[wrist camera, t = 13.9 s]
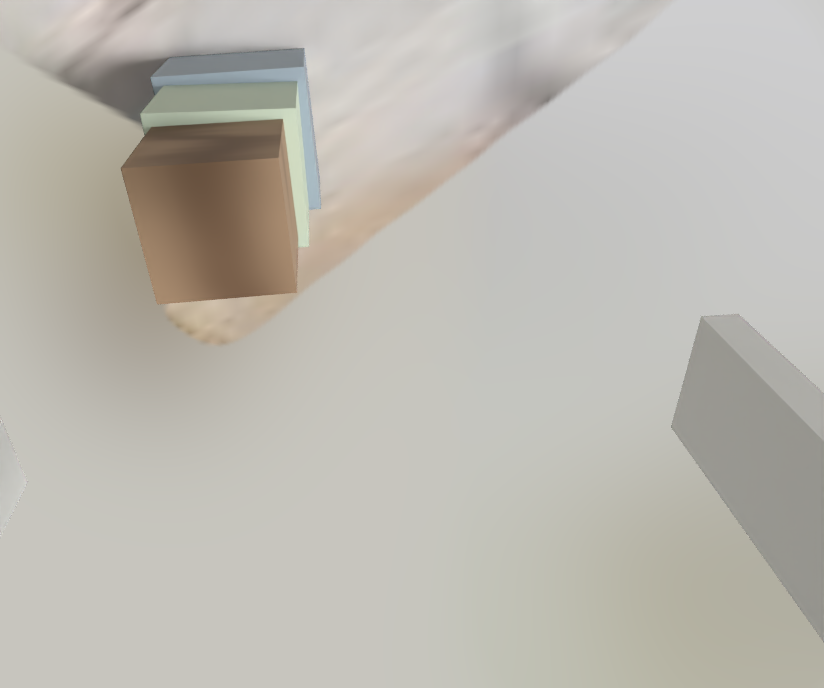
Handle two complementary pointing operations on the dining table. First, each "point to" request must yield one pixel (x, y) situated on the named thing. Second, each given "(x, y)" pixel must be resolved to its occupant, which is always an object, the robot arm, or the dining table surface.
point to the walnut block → (215, 210)
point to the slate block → (252, 70)
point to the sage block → (240, 106)
